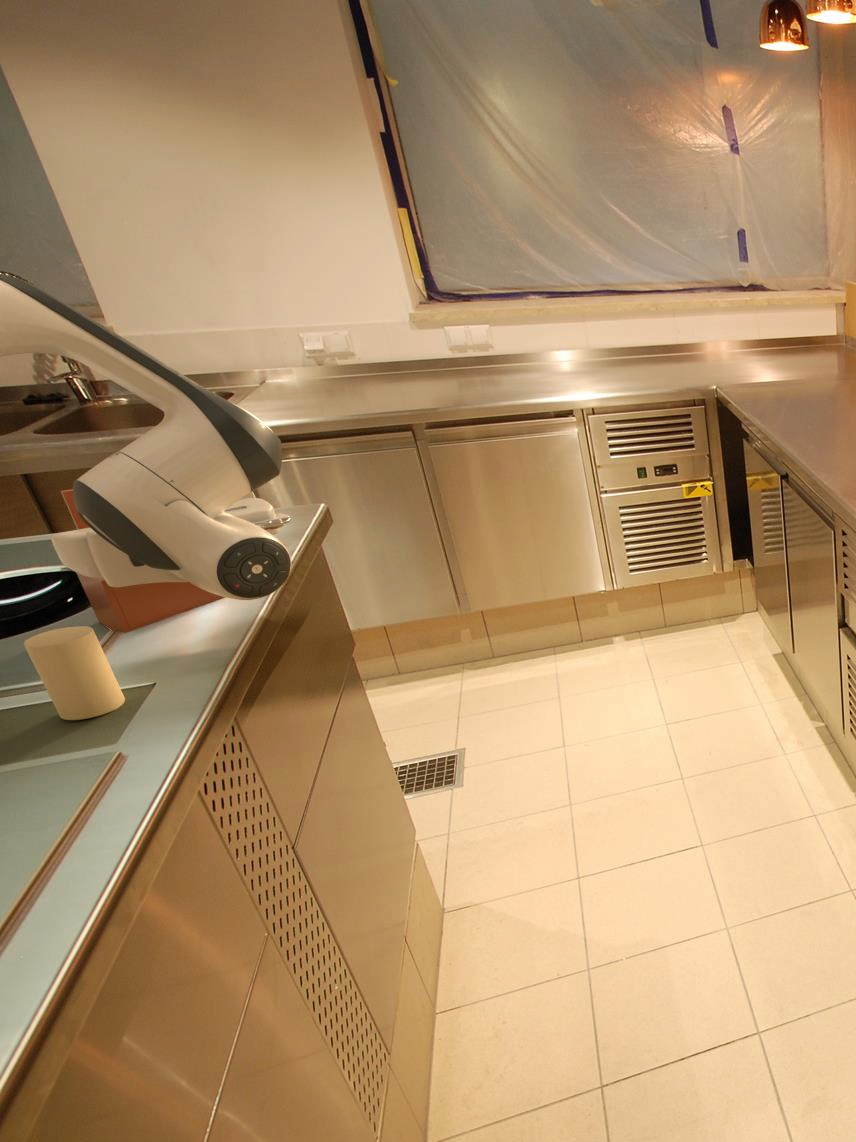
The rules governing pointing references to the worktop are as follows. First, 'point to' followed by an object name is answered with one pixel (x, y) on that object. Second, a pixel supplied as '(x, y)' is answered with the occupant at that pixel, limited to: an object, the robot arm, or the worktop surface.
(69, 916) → the worktop surface
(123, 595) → the tin
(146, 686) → the worktop surface
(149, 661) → the worktop surface
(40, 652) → the candle
